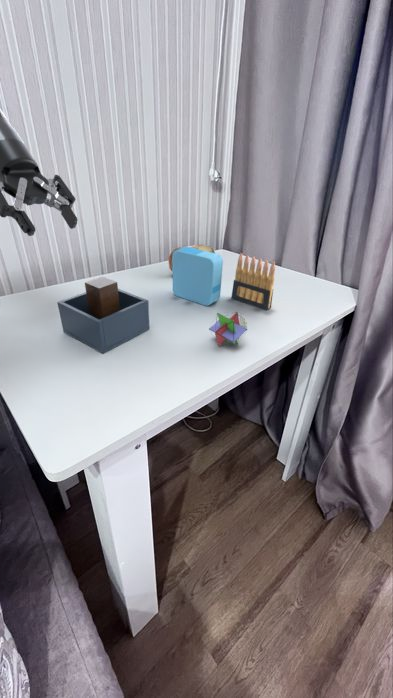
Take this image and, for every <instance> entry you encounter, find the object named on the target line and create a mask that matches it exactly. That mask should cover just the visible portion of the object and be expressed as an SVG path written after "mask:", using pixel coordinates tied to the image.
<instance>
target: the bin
mask: <svg viewBox="0 0 393 698" xmlns="http://www.w3.org/2000/svg"><path fill="white" fill-rule="evenodd" d="M118 295H119V305H120V311H118V312H116V313H113V314H111V315H109V316H106V317H104V318H102V319H100V320H99V319H97V318H95V317H93V316H91V315H89V308H88V302H87V295H86V291H85V292H82V293H80V294H77V295H73V296H71V297H68V298H66V299H65V298H64V299H62V300H60V301H57V302H56V303H57V307H58V312H59V318H60V323H61V327H62V332H63V333H64V334H66V335H68V336H70V337H72V338H74V339H75V340H77V341H79V342H80V343H82V344H85V345H86V346H88V347H89V348H92V349H94V350H95V351H96V352H99V353H101V354H105V353H107V352H110V351H111V350H113V349H116V348H117V347H119V346H120V345H123V344H124V343H126V342H129V341H130V340H132V339H134V338H135V337H138V336H140V335H142V334H144V333H146V332H147V331H149V330H150V310H149V309H150V308H149V300H148V299H146V298H143V297H141V296H138V295H135V294H133V293H130V292H128V291H126V290H124V289H123V290H122V289H120V288H118Z"/></svg>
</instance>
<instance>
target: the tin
mask: <svg viewBox="0 0 393 698" xmlns="http://www.w3.org/2000/svg"><path fill="white" fill-rule="evenodd" d="M184 247H185V246H180V247H177V248H175V249H174V250H172V251H171V252H170V254H169V257H168V268H169V270H170V271H171V272H172V273H173V253H174V251H176V250H179V249H181V248H184ZM186 247H191V248H195V249H199V250H203V251H207V252H212V253H216V252H215V250H214V249H213V247H211V246H209V245H206V244H195V245H187V246H186Z"/></svg>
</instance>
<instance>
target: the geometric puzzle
mask: <svg viewBox="0 0 393 698" xmlns="http://www.w3.org/2000/svg"><path fill="white" fill-rule="evenodd" d="M225 313H228V312H225ZM216 315H217V318H215V319H216V321H215V323H214V321H212V323H211V324H213V323H214V324H213V325H211V326H210V327H209V328H208V330H209V332H210V334H211V335H213V333H214V334H215V338H216V339H215V340H216V341H215V343H216V345H218V346H217V347H218V348H219V347H224V346H227V347H228V346H229V345H231V343H232V344H233V343H234V344H235V345H236V346H238V345H239V342H240V341H241V340H242V339H240V337H242V336H243V335H244V334H246V333H247V331H248V330H249V328H248V325H247V324H248V323H247V320H246V318H245V317H244V316H243V315H242V314H240V313H239V311H238V310H237V311H235V312H234V313H233V315H232V316H231V317H229V318H228V317H226V316H228V314H226V315H223V314H221V313H219V312H217V313H216ZM239 317H240V318H239ZM212 332H213V333H212ZM226 340H228V341H230V343H228V344H227V343H225V344H223V343H224V342H226ZM239 340H240V341H239Z"/></svg>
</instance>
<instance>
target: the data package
mask: <svg viewBox="0 0 393 698" xmlns="http://www.w3.org/2000/svg"><path fill="white" fill-rule="evenodd" d="M183 247H184V248H181V249H179V250H176V251H174V250H173V251H174V253H173V272H172V292H173V294H174V296H176V297H179V298H182V299H185V300H187V301H190V302H193V303H196V304H200V305H203V306H206V307H208V306H210V305H212V304H214V303H215V302H216V301H218V300H219V299H220V298H221V291H222V290H221V289H222V279H223V267H224V259H223V257H222V255H220V254H219V253H216V252H215V253H212V252H207V251H203V250H199V249H195V248H191V247H187V246H183Z"/></svg>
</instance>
